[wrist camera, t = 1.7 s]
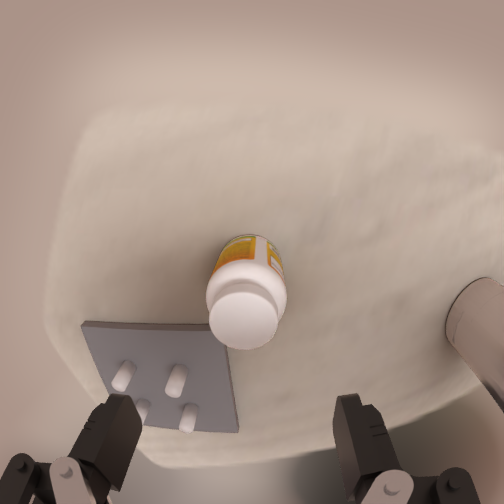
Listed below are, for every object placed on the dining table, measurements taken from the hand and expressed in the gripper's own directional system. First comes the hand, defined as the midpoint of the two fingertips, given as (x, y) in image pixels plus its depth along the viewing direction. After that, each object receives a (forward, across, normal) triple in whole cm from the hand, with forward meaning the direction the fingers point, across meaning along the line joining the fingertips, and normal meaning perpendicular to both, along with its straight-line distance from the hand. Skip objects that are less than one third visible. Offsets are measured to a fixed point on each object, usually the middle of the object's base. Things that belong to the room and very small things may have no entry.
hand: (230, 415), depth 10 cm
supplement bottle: (+17, 0, 0) cm, 17 cm away
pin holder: (+17, +11, +14) cm, 24 cm away
